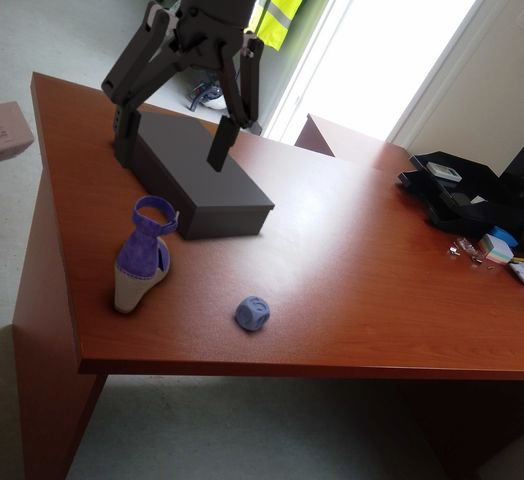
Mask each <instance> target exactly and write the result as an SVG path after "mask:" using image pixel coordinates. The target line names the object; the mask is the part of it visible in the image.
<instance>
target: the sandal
mask: <svg viewBox="0 0 524 480" xmlns="http://www.w3.org/2000/svg"><path fill="white" fill-rule="evenodd" d="M144 208H153V209H156V210H159V211H161V212H162V213H164V214H165V216H166V217H167V220H168V223H165V224H163V225H161V224H160V223H159V222H157V221H155V220H153V219H151V218H149V217H147V216H145V215H141V214H140V213H139V212H138V211H139V210H140V209H144ZM178 215H179V212H178V211H177V213H176V214H175V212H174V210H173V208H172V206H171V205H170V204H169V203H168V202H167V201H165V200H164V199H162V198H159V197H156V196H152V195H145V196H142V197H140V198H139V199H138V200H137V201H136V202H135V204H134V208H133V211H132V215H131V221H132V224H133V225H134V226H135V228H134V230H133V231H132V232H131V234H129V236H128V237H127V239H126V240H125V243H124V244H123V246H122V248H121V250H120V251H119V254H118V255H117V258H116V259H115V262H114V276H115V277H114V279H115V280H114V281H115V283H114V284H115V288H114V289H115V291H114V306H113V307H114V309H115V310H116V311H118V312H119V313H121V314H129V313H131V312H132V311H133V310H134V309H135V308H136V306H137V305H138V304H139V301H140V300H141V299H142V297H143V296H144V295H145V294H146V293H147V292H149V291H150V290H151V289H152V288H153V287H154V286H156V285H157V284H159V283H160V282H161V281H163V279H164V278H166V275H167V273H168V272H169V269H170V265H171V264H170V263H171V255H170V251H169V248H168V245H167V244H166V242H165V240H164V239H163V238H161V237H162V236H165V237H166V236H168V235H170V234H172V233H173V232H175V231H176V230H177V228H176V227H177V224H178V222H177V218H178ZM175 225H176V226H175Z"/></svg>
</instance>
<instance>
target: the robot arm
mask: <svg viewBox="0 0 524 480" xmlns="http://www.w3.org/2000/svg"><path fill="white" fill-rule="evenodd" d="M259 1H260V0H180V3H179V6H178V8H177V9H176V11H174V13H173V12H171V11H169V10H167V9H164V8H163V7H162V6H161V5H160V4H159V3H158V2H157V1H156V0H150V1H148V3H147V6H146V8H145V12H144V15H143V19H142V22H141V24H140V26H139V27H138V29H137V30H136V32H135V33H134V35H133V36H132V38H131V39H130V41H129V42H128V44H127V45H126V47H125V48H124V49H123V51H122V52H121V53H120V55H119V57H118V59H116V61H115V63H114V64H113V66H112V67H111V68H110V70H109V72H108V73H107V74H106V76H105V77H104V79H103V81H102V82H101V84H100V89H101V91H103V93H104V94H105V96H106V97H107V98H108V100H110V102H111V103H112V104H113V105H115V112H114V117H113V122H112V130H113V132H114V134H115V133H116V135H117V141H116V146H114V153H113V156H114V158H115V159H116V160H117V163H119V165H120V166H121V167H122V168H123V169H124V170H130V168H131V167H130V165H131V160H132V156H133V151H134V147H135V142H136V138H137V134H138V129H139V125H140V120H141V116H142V115H141V114H140V113H139V111H138V110H139V109H138V108H139V107H141V106H142V105H143V104H144V103H145V102H146V101H148V99H149V98H151V97H153V95H155V93H156V92H157V91H159V89H161V88H162V87H163V86H164V85H165V84H166V83H168V81H170V80H171V79H172V78H173V77H174V76H175V75H176V74H178V73H182V72H185V71H186V70H187V69H188V68H190V69H191V70H194V71H206V72H208V73H209V74H214V75H215V74H216V77H217V79H218V84H219V87H220V89H221V93H222V97H223V100H224V103H225V107H226V111H227V114H228V115H227V114H222V115H221V116H220V119H219V121H218V125H217V127H216V128H217V129H216V131H215V134H214V136H213V137H214V139H213V142H212V145H211V148H210V151H209V154H208V157H207V160H206V161H207V162H208V163H209V164H210V166H211V167H212V168H213V169H214V170H215V171H216V172H221V170H222V168H223V165H224V162H225V160H226V157H227V154H228V153H229V151H230V149H231V148H233V147H234V146H235V144H236V142H237V138H238V136H239V133H240V131H241V129H242V130H247V129H248V128H249V126H250V122H251V123H253V124H254V123H256V122H257V121H258V119H259V116H260V115H259V113H260V111H259V110H260V108H259V107H260V106H259V105H260V65H261V64H260V63H261V59H262V55H263V52H264V49H265V42H264V40H263V39H262V38H260V37H259V36H258V35H257V34H255V32H254V31H252V30H251V29H248V28H250V27H251V24H252V22H253V18H254V16H255V13H256V11H257V7H258V4H259ZM246 29H248V30H246ZM245 30H246V32H245ZM171 31H172V33H173V35H172V36H171V37H170V35H171ZM165 37H170V38H169V39H168V40H167V41H165V43H164V44H162V43H163V41H164V39H165ZM161 45H162V46H161ZM160 47H161V50H160V52H159V53H158V54H156V53H157V52H158V50H159V49H160ZM177 52H178V54H179V55H178V54H177ZM239 52H240V53H239ZM238 53H239V85H238V81H237V78H236V77H237V71H236V66H235V62H234V59H233V58H234V56H236V55H237V54H238ZM239 88H240V89H239Z"/></svg>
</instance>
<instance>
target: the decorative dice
mask: <svg viewBox="0 0 524 480" xmlns="http://www.w3.org/2000/svg"><path fill="white" fill-rule="evenodd" d="M269 306H270V305H269V304H268V303H267V301H265V300H264V298H261V297H259V296H256V295H251V296H248V297H246V298H244V299H243V300H242V301H241V302H240V303H239V304H238V305H237V307H236V310H235V317H236V320H237V322H238V324H239V326H240V327H242V328H243V329H245V330H247V331H257V330H259V329H261V328H262V327H263V326H264V325H265V324H266V323H267V322H268V321H269V319H270V317H271V309H270V307H269Z"/></svg>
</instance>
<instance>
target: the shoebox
mask: <svg viewBox="0 0 524 480" xmlns="http://www.w3.org/2000/svg"><path fill="white" fill-rule="evenodd" d="M137 110H138V111H139V113H140V114H141V115H142V116H141V120H140V125H139V129H138V134H137V138H136V142H135V147H134V151H133V156H132V160H131V165H130V168H131V170H132V172H134V174H135V176H137V178H138V179H139V181H140V182H141V184H143V186H144V187H145V188H146V190H147V191H148V192H149V194H150V196H156V197H159V198H162V199H164V200H165V201H167V202H168V203H169V204H170V205H171V206H172V208H173V210H174V212H175V214H176V213H177V211H178V212H179V215H178V218H177V222H178V224H177V227H176V230H177V232H179V233H180V235H181V236H182V238H183V239H184V240H185V241H186V240H187V241H188V240H200V239H215V238H216V239H217V238H229V237H242V236H243V237H244V236H256V235H259V234H260V232H261V230H262V228H263V226H264V224H265V222H266V220H267V218H268V216H269V214H270V212H271V211H273V210H274V209H275V207H276V204H275V203H274V202H273V201H272V200H271V199H270V198H269V196H267V194H266V193H265V192H264V191H263V190H262V188H260V187H259V185H258V184H257V183H256V182H255V181H254V180H253V178H251V176H250V175H249V174H248V173H247V172H246V171H245V169H244V168H243V167H242V166H240V164H239V163H238V162H237V161H236V159H234V157H232V155H231V154H230V153H229V152H228V154H227V157H226V160H225V162H224V165H223V168H222V170H221V172H216V171H215V170H214V169H213V168H212V167H211V166H210V164H209V163H208V162H207V161H206V160H207V157H208V154H209V151H210V148H211V145H212V142H213V139H214V137H215V136H214V135H213V134H212V133H211V132H210V131H209V130H208V129H207V128H206V127H205V126H204V125H203V123H202V122H201V121H200V120H199V119H198V118H197V117H191V116H184V115H175V114H169V113H163V112H161V113H160V112H155V111H154V112H153V111H147V110H139V109H137ZM116 141H117V135H116V133H115V132H114V137H113V141H112V142H113V143H112V144H113V146H114V147H115V146H116ZM175 226H176V225H175Z"/></svg>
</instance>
